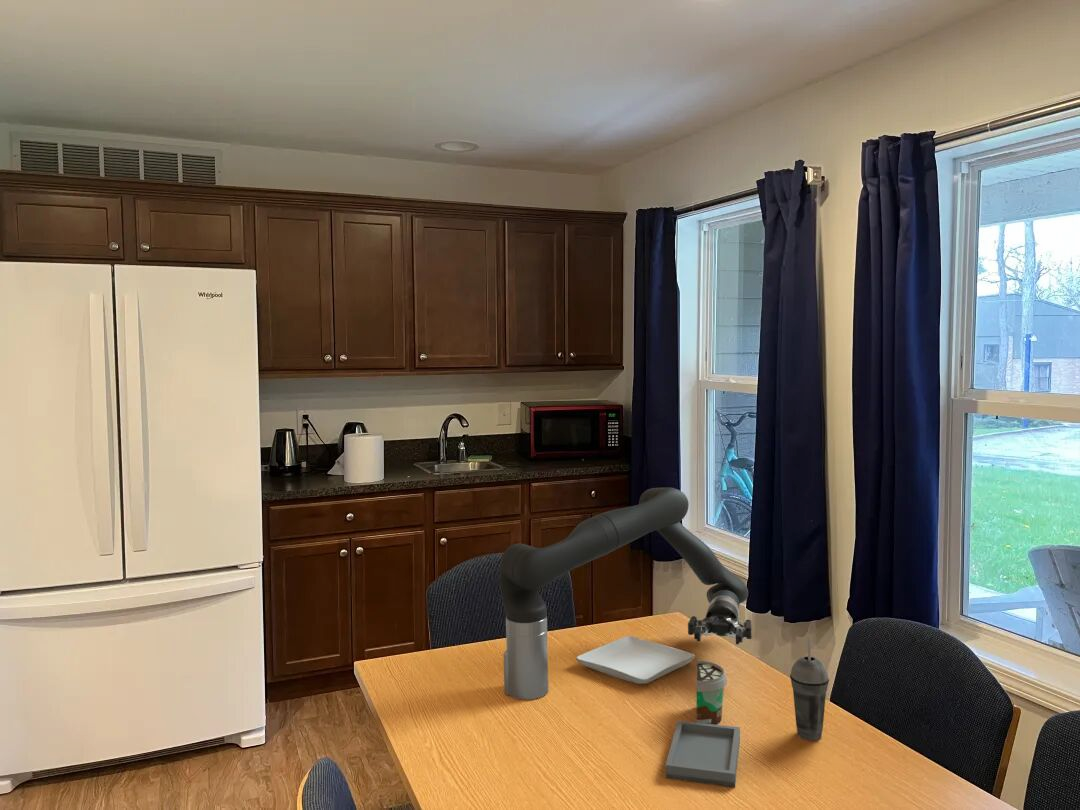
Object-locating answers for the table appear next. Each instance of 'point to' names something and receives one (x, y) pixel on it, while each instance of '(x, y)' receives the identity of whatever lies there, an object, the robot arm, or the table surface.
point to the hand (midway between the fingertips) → (717, 638)
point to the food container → (709, 692)
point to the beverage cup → (809, 695)
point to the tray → (704, 753)
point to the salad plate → (635, 659)
